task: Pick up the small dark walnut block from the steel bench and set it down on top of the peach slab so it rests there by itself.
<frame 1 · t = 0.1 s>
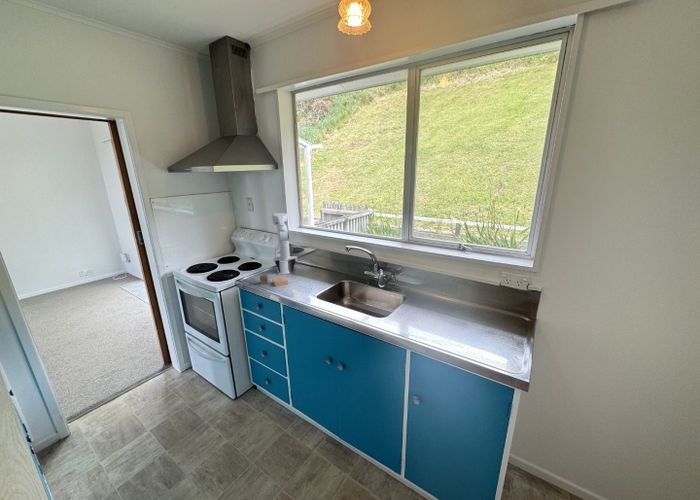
hand: (286, 271, 176), 10 cm above the worktop, fingers open, 7 cm apart
walnut block: (264, 283, 184), on the worktop
peach slab: (280, 283, 184), on the worktop
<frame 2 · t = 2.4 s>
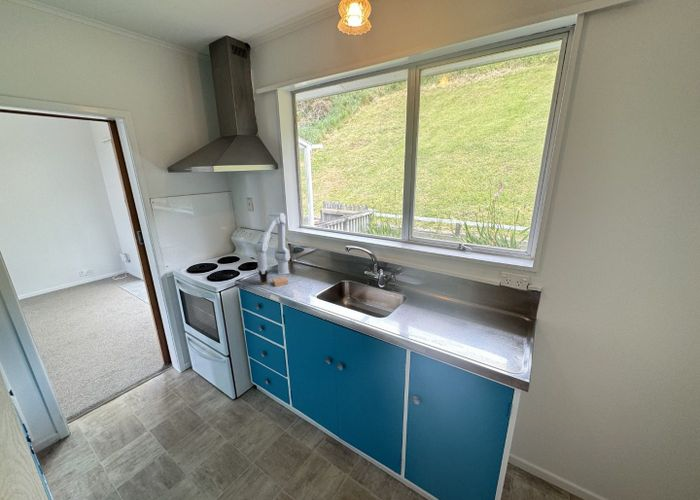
hand: (263, 280, 184), 1 cm above the worktop, fingers closed on walnut block, 4 cm apart
walnut block: (264, 282, 184), on the worktop, touching gripper
everything else where it was.
when the fingers open (6 cm above the worktop, at t = 5.0 s): walnut block drops 1 cm, point 3 cm above the worktop.
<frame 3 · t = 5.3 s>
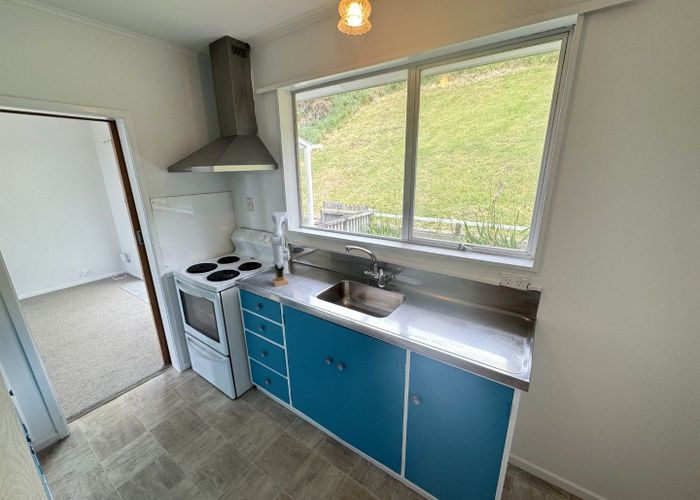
hand: (279, 275, 182), 6 cm above the worktop, fingers open, 7 cm apart
walnut block: (280, 279, 183), point 3 cm above the worktop
everything else where it was.
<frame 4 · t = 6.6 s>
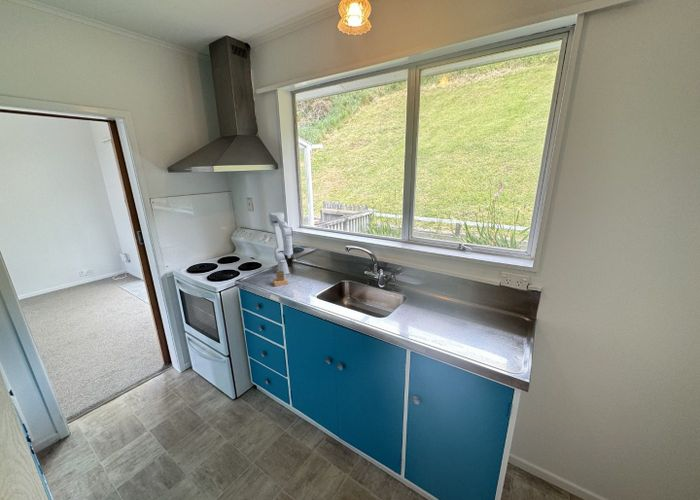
hand: (289, 265, 188), 10 cm above the worktop, fingers open, 7 cm apart
walnut block: (280, 279, 183), point 3 cm above the worktop, touching peach slab
peach slab: (280, 284, 184), on the worktop, touching walnut block
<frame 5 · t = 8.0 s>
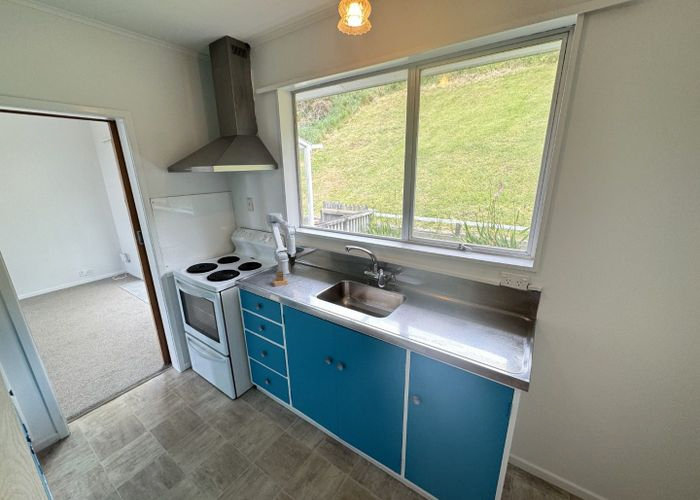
hand: (292, 264, 190), 10 cm above the worktop, fingers open, 7 cm apart
walnut block: (280, 279, 183), point 3 cm above the worktop
peach slab: (280, 284, 183), on the worktop
at the end: walnut block 0.4 cm off-centre on the peach slab, point 3.0 cm above the peach slab's base; walnut block tilted 0°; the gripper is holding nothing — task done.
